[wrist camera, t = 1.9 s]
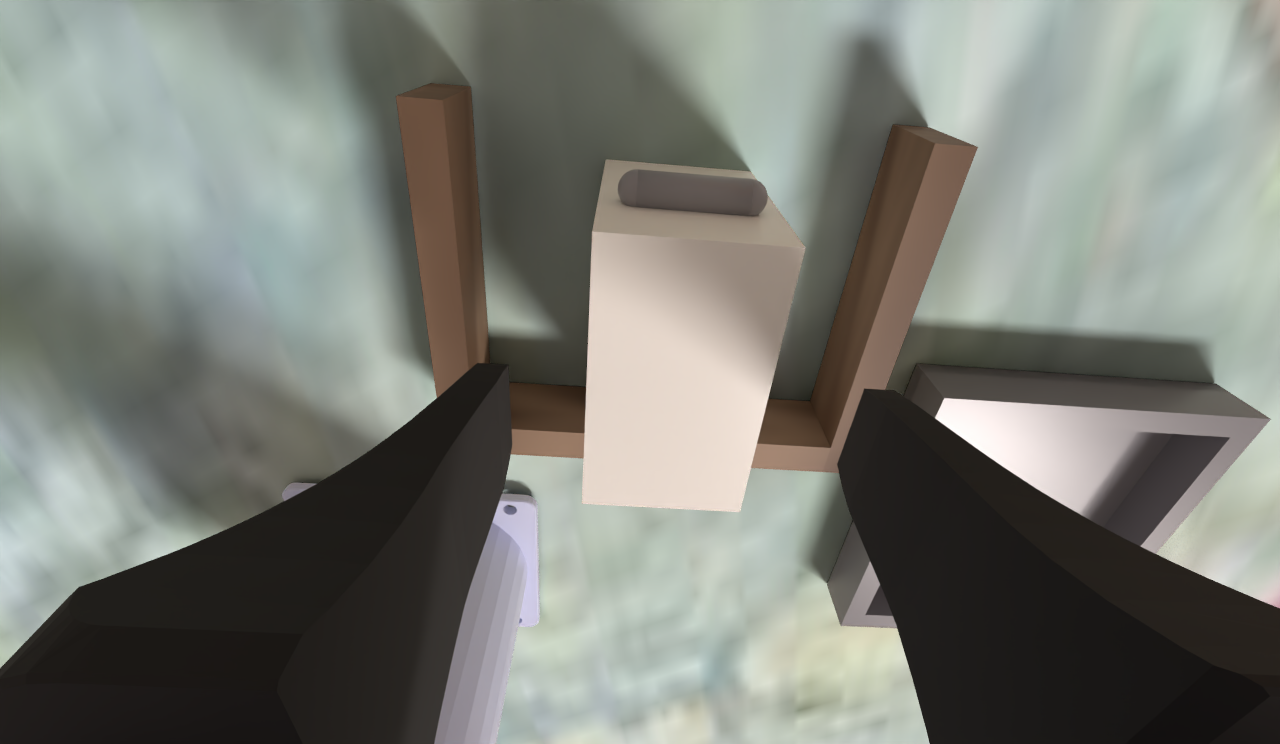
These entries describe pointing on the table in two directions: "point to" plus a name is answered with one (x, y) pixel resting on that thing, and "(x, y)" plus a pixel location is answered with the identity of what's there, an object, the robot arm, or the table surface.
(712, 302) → the beige rectangular block
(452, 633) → the robot arm
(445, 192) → the bay
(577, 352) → the table surface
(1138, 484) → the tray
